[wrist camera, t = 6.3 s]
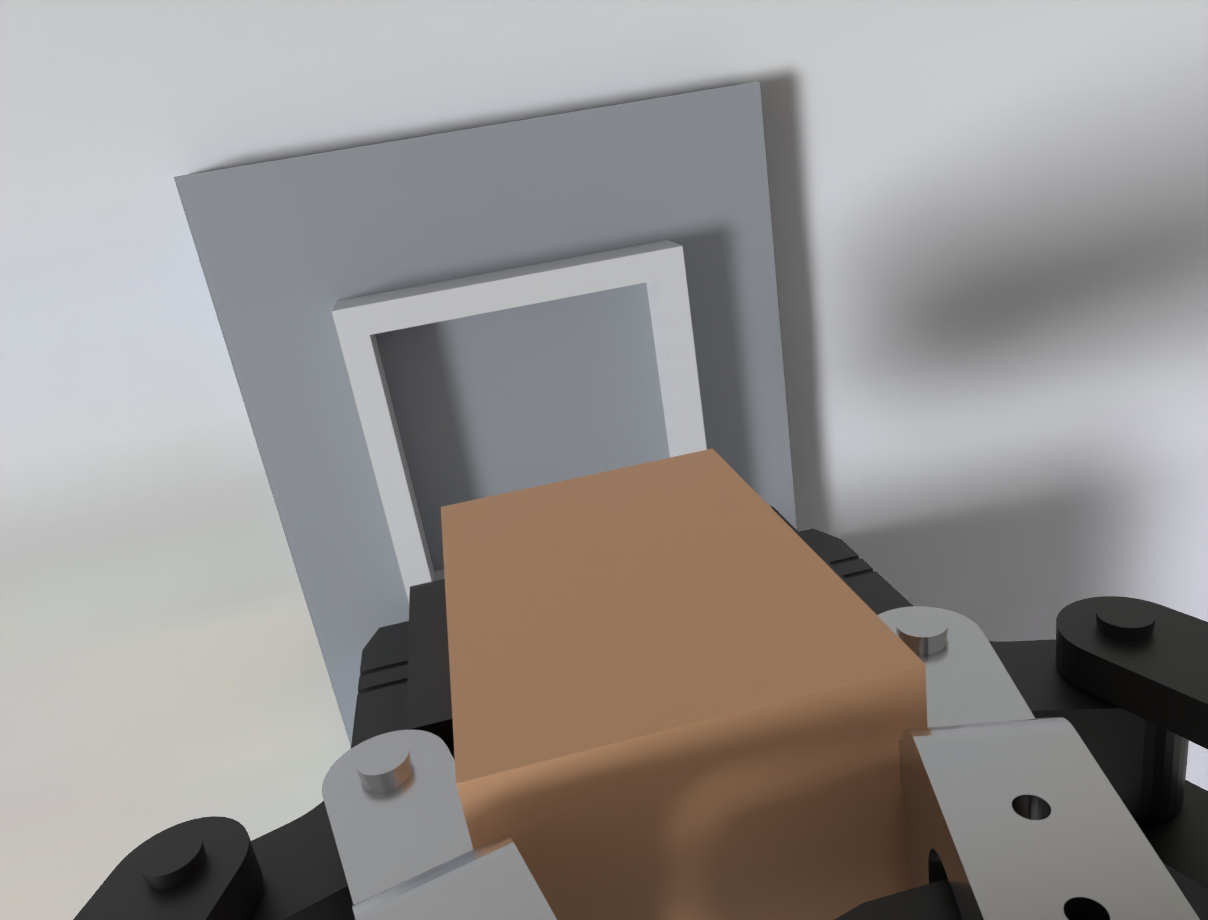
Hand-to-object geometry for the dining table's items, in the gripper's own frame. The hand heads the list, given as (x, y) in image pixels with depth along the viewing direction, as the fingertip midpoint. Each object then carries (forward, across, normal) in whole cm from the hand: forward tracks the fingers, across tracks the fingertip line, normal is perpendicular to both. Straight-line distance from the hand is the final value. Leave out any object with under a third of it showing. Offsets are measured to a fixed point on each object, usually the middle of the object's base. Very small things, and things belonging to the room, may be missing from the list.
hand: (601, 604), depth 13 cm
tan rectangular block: (0, 0, 0) cm, 0 cm away
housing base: (+9, 0, +4) cm, 10 cm away
